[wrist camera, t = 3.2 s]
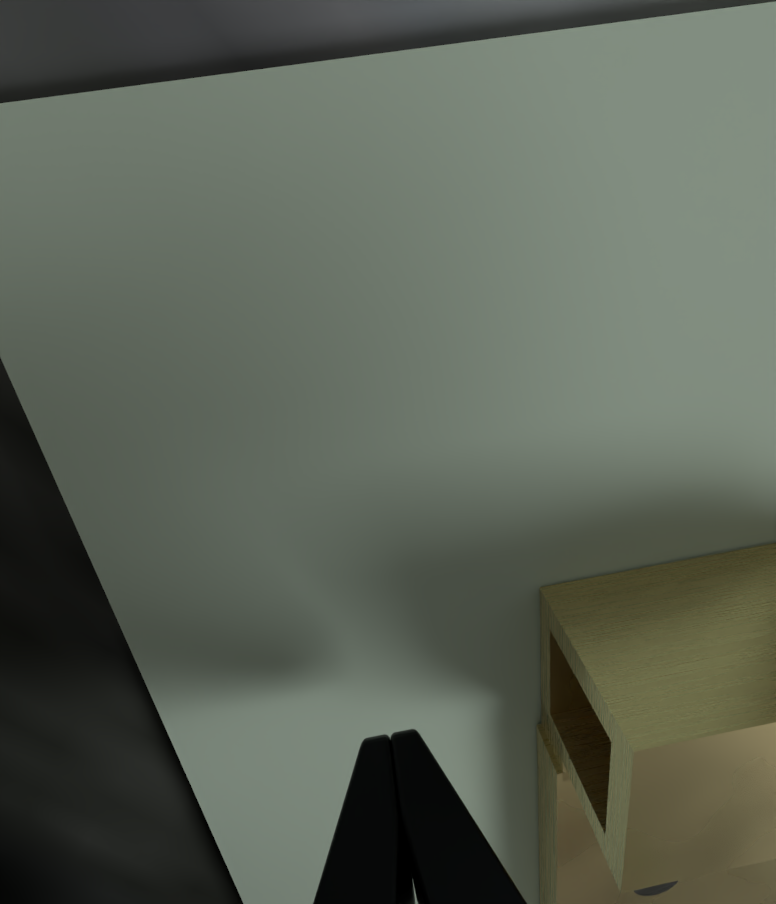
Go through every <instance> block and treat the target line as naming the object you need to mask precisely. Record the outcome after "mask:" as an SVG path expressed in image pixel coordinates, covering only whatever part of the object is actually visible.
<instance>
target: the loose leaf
mask: <svg viewBox="0 0 776 904" xmlns="http://www.w3.org/2000/svg"><path fill="white" fill-rule="evenodd" d="M539 589H540V658H541V724H538V725H536V732H537V782H538V831H539V881H540V904H776V543H772V544H766V545H761V546H756V547H751V548H745V549H740V550H735V551H729V552H724V553H719V554H713V555H708V556H703V557H698V558H692V559H687V560H682V561H676V562H671V563H666V564H660V565H655V566H650V567H644V568H639V569H634V570H629V571H623V572H618V573H613V574H607V575H602V576H597V577H591V578H586V579H581V580H576V581H570V582H565V583H560V584H554V585H549V586H544V587H539Z"/></svg>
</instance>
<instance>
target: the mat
mask: <svg viewBox="0 0 776 904" xmlns="http://www.w3.org/2000/svg"><path fill="white" fill-rule="evenodd" d="M0 358H1V360H2V362H3V364H4V367H5V369H6V371H7V373H8V376H9V378H10V380H11V382H12V385H13V387H14V389H15V391H16V394H17V396H18V398H19V400H20V403H21V405H22V407H23V409H24V412H25V414H26V416H27V418H28V421H29V423H30V425H31V427H32V430H33V432H34V434H35V436H36V439H37V441H38V443H39V445H40V448H41V450H42V452H43V454H44V457H45V459H46V461H47V463H48V466H49V468H50V470H51V472H52V475H53V477H54V479H55V481H56V484H57V486H58V488H59V490H60V493H61V495H62V497H63V499H64V502H65V504H66V506H67V508H68V511H69V513H70V515H71V517H72V519H73V522H74V524H75V526H76V528H77V531H78V533H79V535H80V537H81V540H82V542H83V544H84V546H85V549H86V551H87V553H88V555H89V558H90V560H91V562H92V564H93V567H94V569H95V571H96V573H97V576H98V578H99V580H100V582H101V585H102V587H103V589H104V591H105V594H106V596H107V598H108V600H109V603H110V605H111V607H112V609H113V612H114V614H115V616H116V618H117V621H118V623H119V625H120V627H121V630H122V632H123V634H124V636H125V639H126V641H127V643H128V645H129V648H130V650H131V652H132V654H133V657H134V659H135V661H136V663H137V666H138V668H139V670H140V672H141V675H142V677H143V679H144V681H145V684H146V686H147V688H148V690H149V693H150V695H151V697H152V699H153V702H154V704H155V706H156V708H157V711H158V713H159V715H160V717H161V720H162V722H163V724H164V726H165V729H166V731H167V733H168V735H169V738H170V740H171V742H172V744H173V746H174V749H175V751H176V753H177V755H178V758H179V760H180V762H181V764H182V767H183V769H184V771H185V773H186V776H187V778H188V780H189V782H190V785H191V787H192V789H193V791H194V794H195V796H196V798H197V800H198V803H199V805H200V807H201V809H202V812H203V814H204V816H205V818H206V821H207V823H208V825H209V827H210V830H211V832H212V834H213V836H214V839H215V841H216V843H217V845H218V848H219V850H220V852H221V854H222V857H223V859H224V861H225V863H226V866H227V868H228V870H229V872H230V875H231V877H232V879H233V881H234V884H235V886H236V888H237V890H238V893H239V895H240V897H241V899H242V902H243V904H313V902H314V899H315V895H316V892H317V889H318V885H319V882H320V879H321V875H322V872H323V869H324V865H325V862H326V859H327V855H328V852H329V849H330V845H331V842H332V839H333V835H334V832H335V829H336V825H337V822H338V819H339V815H340V812H341V809H342V805H343V802H344V799H345V795H346V792H347V788H348V785H349V782H350V778H351V775H352V772H353V768H354V765H355V762H356V758H357V755H358V752H359V748H360V745H361V743H362V741H363V740H364V739H365V738H368V737H373V736H378V735H383V734H386V735H388V736H389V737H391V735H392V734H393V733H394V732H399V731H404V730H409V729H415V730H417V731H418V732H419V734H420V735H421V737H422V738H423V740H424V741H425V743H426V745H427V746H428V748H429V749H430V751H431V753H432V754H433V756H434V757H435V759H436V760H437V762H438V764H439V765H440V767H441V768H442V770H443V771H444V773H445V775H446V776H447V778H448V779H449V781H450V783H451V784H452V786H453V787H454V789H455V790H456V792H457V794H458V795H459V797H460V798H461V800H462V801H463V803H464V805H465V806H466V808H467V809H468V811H469V813H470V814H471V816H472V817H473V819H474V820H475V822H476V824H477V825H478V827H479V828H480V830H481V831H482V833H483V835H484V836H485V838H486V839H487V841H488V843H489V844H490V846H491V847H492V849H493V850H494V852H495V854H496V855H497V857H498V858H499V860H500V861H501V863H502V865H503V866H504V868H505V869H506V871H507V873H508V874H509V876H510V877H511V879H512V880H513V882H514V884H515V885H516V887H517V888H518V890H519V891H520V893H521V895H522V896H523V898H524V899H525V901H526V903H527V904H540V881H539V831H538V782H537V732H536V725H538V724H541V658H540V589H539V587H544V586H549V585H554V584H560V583H565V582H570V581H576V580H581V579H586V578H591V577H597V576H602V575H607V574H613V573H618V572H623V571H629V570H634V569H639V568H644V567H650V566H655V565H660V564H666V563H671V562H676V561H682V560H687V559H692V558H698V557H703V556H708V555H713V554H719V553H724V552H729V551H735V550H740V549H745V548H751V547H756V546H761V545H766V544H772V543H776V1H775V2H767V3H760V4H752V5H745V6H737V7H729V8H722V9H714V10H707V11H699V12H691V13H684V14H676V15H668V16H661V17H653V18H646V19H638V20H630V21H623V22H615V23H608V24H600V25H592V26H585V27H577V28H570V29H562V30H554V31H547V32H539V33H532V34H524V35H516V36H509V37H501V38H494V39H486V40H478V41H471V42H463V43H456V44H448V45H440V46H433V47H425V48H418V49H410V50H402V51H395V52H387V53H380V54H372V55H364V56H357V57H349V58H342V59H334V60H326V61H319V62H311V63H304V64H296V65H288V66H281V67H273V68H266V69H258V70H250V71H243V72H235V73H228V74H220V75H212V76H205V77H197V78H189V79H182V80H174V81H167V82H159V83H151V84H144V85H136V86H129V87H121V88H113V89H106V90H98V91H91V92H83V93H75V94H68V95H60V96H53V97H45V98H37V99H30V100H22V101H15V102H7V103H0ZM413 886H414V883H413ZM414 894H415V904H418V902H417V898H416V893H415V888H414Z"/></svg>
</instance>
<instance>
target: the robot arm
mask: <svg viewBox="0 0 776 904" xmlns="http://www.w3.org/2000/svg"><path fill="white" fill-rule="evenodd" d="M413 883H414V886H413ZM414 888H415V893H416V898H417V902H418V904H527V903H526V901H525V899H524V898H523V896H522V895H521V893H520V891H519V890H518V888H517V887H516V885H515V884H514V882H513V880H512V879H511V877H510V876H509V874H508V873H507V871H506V869H505V868H504V866H503V865H502V863H501V861H500V860H499V858H498V857H497V855H496V854H495V852H494V850H493V849H492V847H491V846H490V844H489V843H488V841H487V839H486V838H485V836H484V835H483V833H482V831H481V830H480V828H479V827H478V825H477V824H476V822H475V820H474V819H473V817H472V816H471V814H470V813H469V811H468V809H467V808H466V806H465V805H464V803H463V801H462V800H461V798H460V797H459V795H458V794H457V792H456V790H455V789H454V787H453V786H452V784H451V783H450V781H449V779H448V778H447V776H446V775H445V773H444V771H443V770H442V768H441V767H440V765H439V764H438V762H437V760H436V759H435V757H434V756H433V754H432V753H431V751H430V749H429V748H428V746H427V745H426V743H425V741H424V740H423V738H422V737H421V735H420V734H419V732H418V731H417V730H415V729H409V730H404V731H399V732H394V733H393V734H392V735H391V737H389V736H388V735H386V734H383V735H378V736H373V737H368V738H365V739H364V740H363V741H362V743H361V745H360V748H359V752H358V755H357V758H356V762H355V765H354V768H353V772H352V775H351V778H350V782H349V785H348V788H347V792H346V795H345V799H344V802H343V805H342V809H341V812H340V815H339V819H338V822H337V825H336V829H335V832H334V835H333V839H332V842H331V845H330V849H329V852H328V855H327V859H326V862H325V865H324V869H323V872H322V875H321V879H320V882H319V885H318V889H317V892H316V895H315V899H314V902H313V904H415V894H414Z"/></svg>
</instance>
